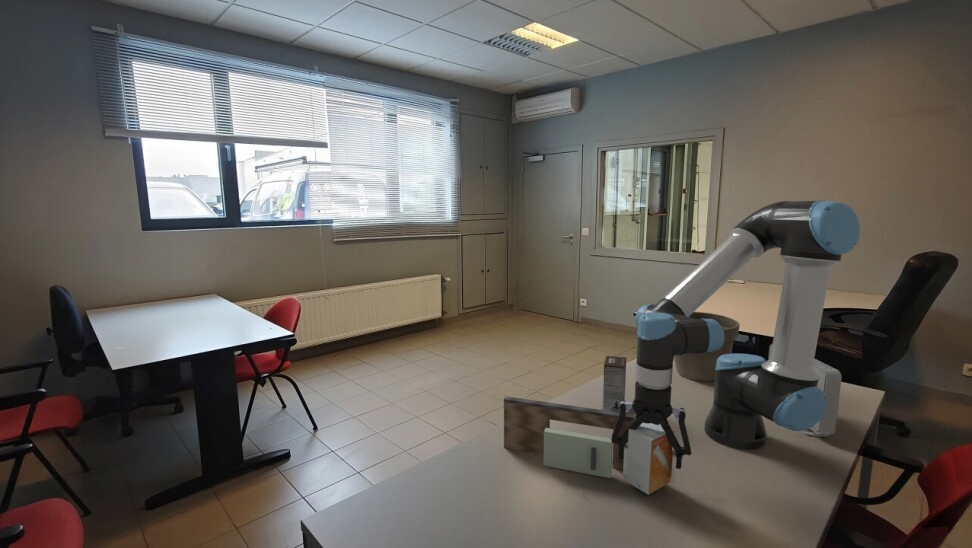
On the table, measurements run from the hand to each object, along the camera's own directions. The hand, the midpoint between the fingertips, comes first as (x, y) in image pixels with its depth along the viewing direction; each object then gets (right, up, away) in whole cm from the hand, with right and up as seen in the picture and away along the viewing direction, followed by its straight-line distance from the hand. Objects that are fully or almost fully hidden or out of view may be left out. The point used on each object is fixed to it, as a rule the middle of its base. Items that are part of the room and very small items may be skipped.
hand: (648, 475), depth 102 cm
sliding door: (-15, -2, +6) cm, 17 cm away
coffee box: (+3, +3, +39) cm, 40 cm away
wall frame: (-16, -1, +12) cm, 20 cm away
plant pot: (+43, +8, +67) cm, 80 cm away
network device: (+56, +2, +31) cm, 64 cm away
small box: (0, -2, 0) cm, 2 cm away
